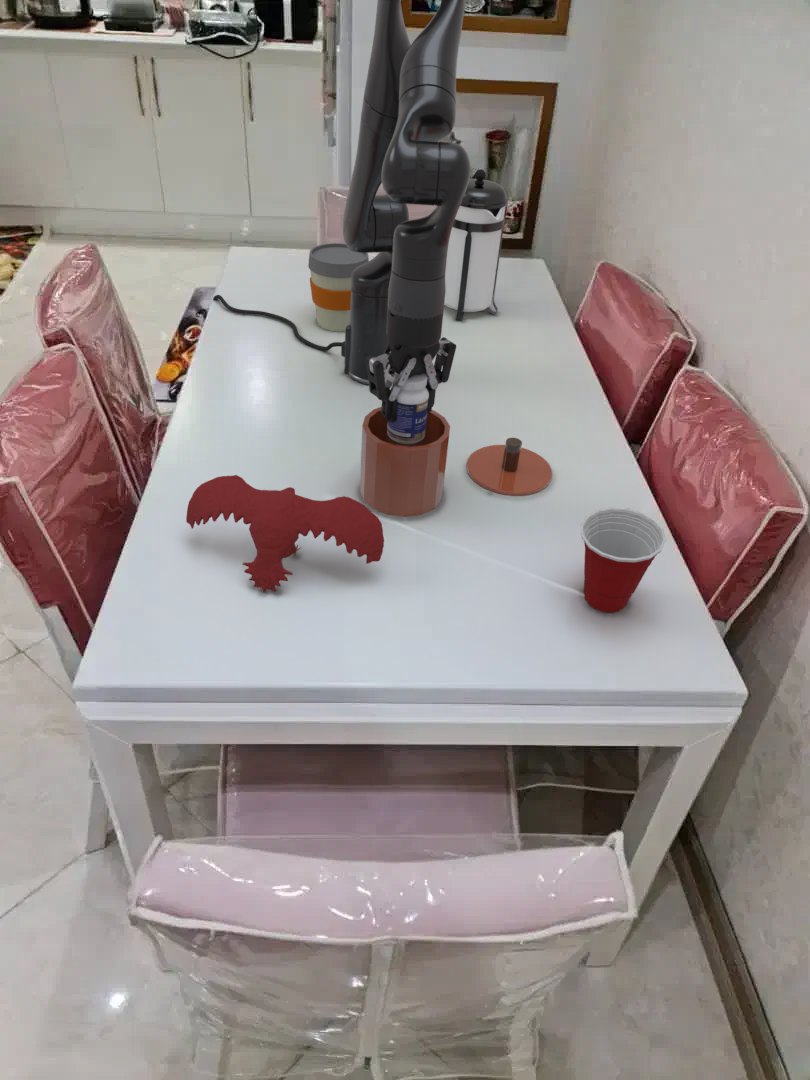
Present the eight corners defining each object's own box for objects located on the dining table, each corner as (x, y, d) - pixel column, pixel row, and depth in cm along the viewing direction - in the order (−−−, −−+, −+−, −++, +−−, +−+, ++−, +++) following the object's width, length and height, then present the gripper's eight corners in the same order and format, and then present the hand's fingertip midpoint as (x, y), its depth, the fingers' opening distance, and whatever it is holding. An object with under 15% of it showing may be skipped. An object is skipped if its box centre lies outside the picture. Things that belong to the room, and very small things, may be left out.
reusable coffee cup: (378, 321, 177) (381, 252, 167) (344, 340, 168) (346, 269, 159) (331, 305, 182) (332, 238, 172) (296, 323, 173) (295, 254, 164)
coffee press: (505, 301, 190) (525, 165, 171) (488, 327, 178) (507, 184, 159) (434, 288, 194) (447, 153, 175) (413, 312, 182) (424, 170, 163)
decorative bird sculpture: (373, 614, 112) (395, 508, 113) (362, 614, 103) (386, 499, 104) (182, 574, 116) (205, 472, 117) (155, 571, 107) (180, 460, 108)
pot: (345, 501, 125) (346, 431, 117) (386, 462, 134) (390, 395, 126) (418, 529, 120) (425, 459, 113) (455, 487, 129) (464, 420, 122)
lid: (452, 480, 131) (456, 447, 127) (487, 442, 141) (491, 410, 137) (532, 508, 126) (539, 476, 122) (562, 467, 136) (569, 435, 132)
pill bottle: (421, 448, 118) (426, 387, 112) (383, 442, 119) (386, 381, 112) (428, 428, 122) (433, 368, 116) (391, 422, 123) (395, 363, 117)
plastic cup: (555, 572, 115) (572, 505, 107) (629, 572, 116) (650, 505, 108) (574, 627, 106) (593, 558, 99) (653, 626, 108) (678, 557, 100)
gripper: (442, 285, 113) (432, 392, 124) (355, 303, 107) (352, 415, 117) (475, 305, 109) (461, 414, 119) (386, 325, 102) (380, 439, 113)
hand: (407, 414), depth 118 cm, fingers closed on pill bottle, 5 cm apart
